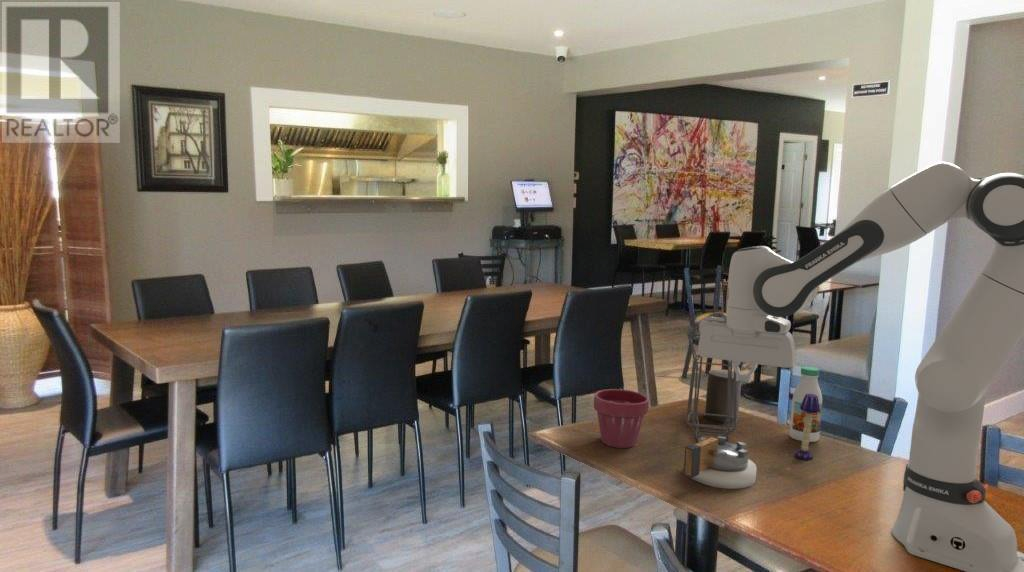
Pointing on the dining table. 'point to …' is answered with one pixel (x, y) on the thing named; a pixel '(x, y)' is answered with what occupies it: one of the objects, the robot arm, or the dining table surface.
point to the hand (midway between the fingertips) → (743, 381)
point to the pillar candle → (720, 395)
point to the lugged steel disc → (715, 456)
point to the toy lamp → (807, 424)
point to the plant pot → (620, 416)
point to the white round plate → (728, 477)
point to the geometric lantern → (695, 364)
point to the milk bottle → (804, 387)
